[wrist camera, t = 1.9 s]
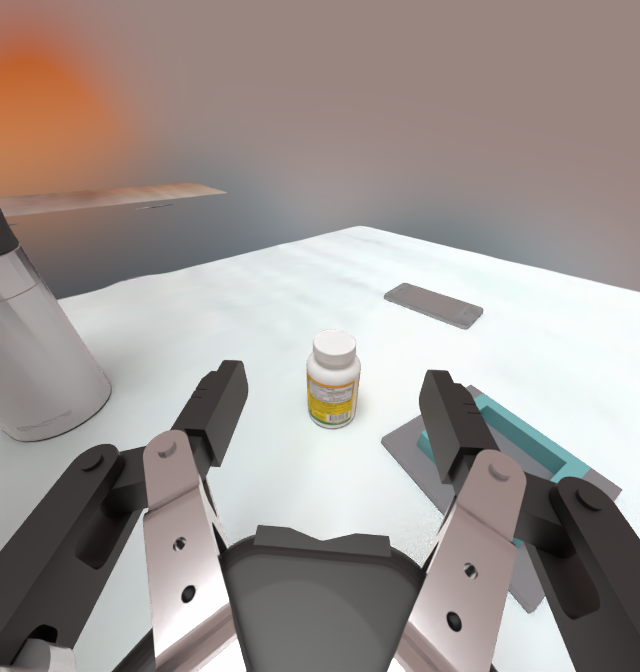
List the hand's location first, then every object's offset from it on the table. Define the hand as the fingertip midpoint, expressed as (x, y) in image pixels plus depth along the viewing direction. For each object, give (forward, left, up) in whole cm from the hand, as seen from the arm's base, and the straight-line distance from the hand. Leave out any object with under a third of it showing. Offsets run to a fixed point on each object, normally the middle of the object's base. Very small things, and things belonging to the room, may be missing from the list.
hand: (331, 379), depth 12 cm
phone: (-20, +35, -17) cm, 44 cm away
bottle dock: (+4, +15, -16) cm, 22 cm away
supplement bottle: (-9, +6, -16) cm, 20 cm away
